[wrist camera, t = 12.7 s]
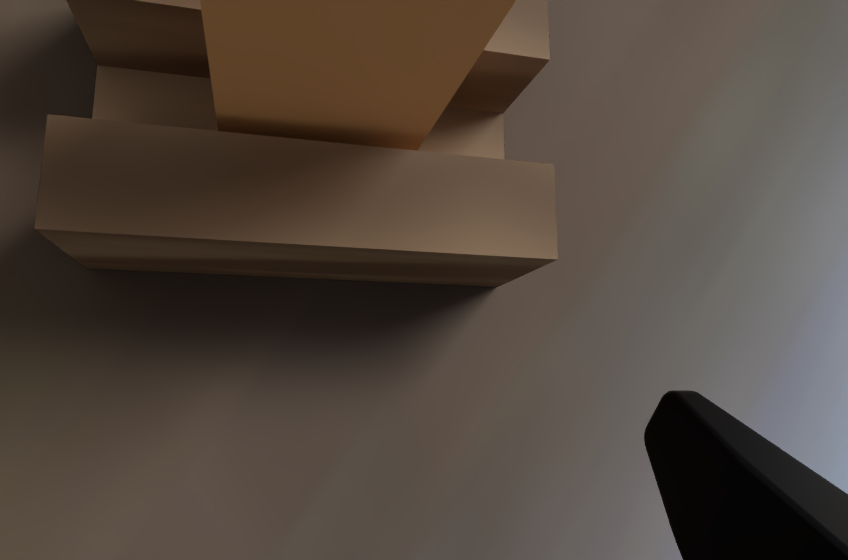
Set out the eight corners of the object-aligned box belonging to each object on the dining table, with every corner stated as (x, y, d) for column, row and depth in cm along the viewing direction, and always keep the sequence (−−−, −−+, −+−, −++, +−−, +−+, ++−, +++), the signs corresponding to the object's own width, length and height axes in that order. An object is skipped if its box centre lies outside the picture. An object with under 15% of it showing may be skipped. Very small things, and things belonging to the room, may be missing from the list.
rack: (497, 287, 24) (557, 259, 19) (86, 268, 20) (33, 228, 16) (489, -89, 27) (539, -195, 22) (127, -162, 23) (95, -306, 18)
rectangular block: (399, 176, 23) (548, -51, 11) (222, 163, 21) (183, -115, 10) (399, 110, 23) (542, -173, 12) (225, 93, 21) (192, -253, 10)
